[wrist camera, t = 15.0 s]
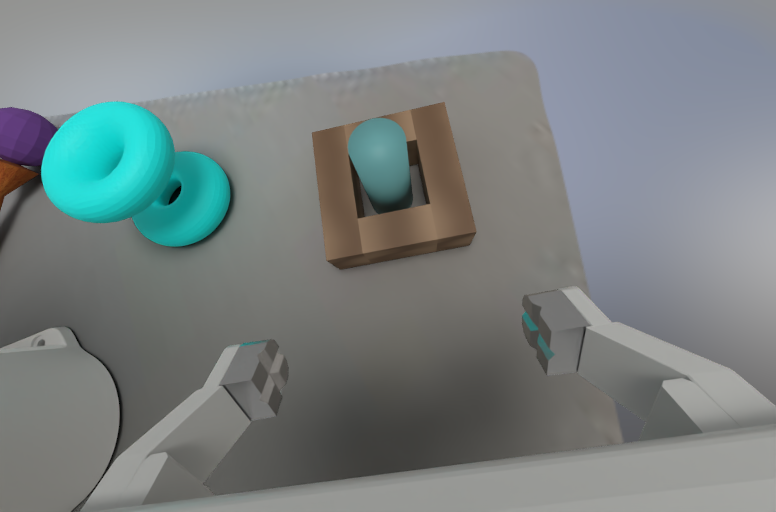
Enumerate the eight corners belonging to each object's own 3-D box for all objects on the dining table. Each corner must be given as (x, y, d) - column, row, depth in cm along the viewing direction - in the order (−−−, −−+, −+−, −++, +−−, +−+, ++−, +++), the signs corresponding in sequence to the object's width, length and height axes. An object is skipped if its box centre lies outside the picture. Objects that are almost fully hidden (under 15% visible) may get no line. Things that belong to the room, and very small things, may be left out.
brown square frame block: (340, 269, 28) (326, 260, 24) (326, 156, 31) (311, 132, 27) (469, 245, 27) (476, 231, 23) (442, 131, 30) (444, 102, 26)
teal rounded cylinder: (374, 221, 29) (351, 176, 20) (368, 184, 30) (344, 125, 21) (416, 213, 28) (411, 163, 20) (408, 175, 29) (400, 112, 20)
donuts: (37, 109, 24) (153, 79, 23) (150, 172, 33) (234, 152, 32) (20, 227, 21) (148, 198, 20) (147, 258, 31) (238, 239, 30)
